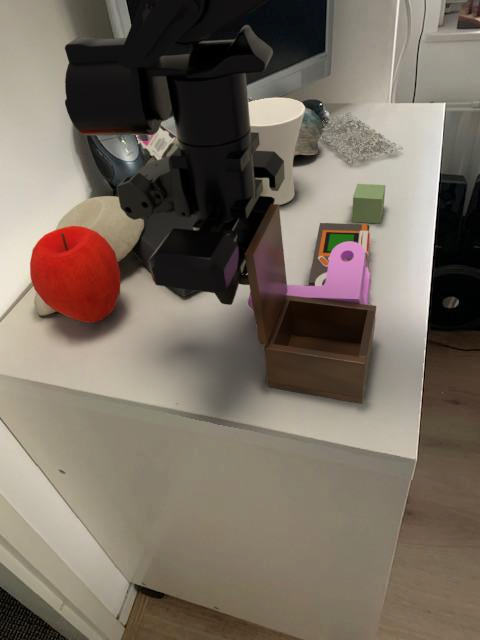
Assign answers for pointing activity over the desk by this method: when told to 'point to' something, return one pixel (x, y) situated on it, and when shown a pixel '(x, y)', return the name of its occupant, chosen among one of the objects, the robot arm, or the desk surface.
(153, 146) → the candy bar box
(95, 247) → the apple
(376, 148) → the rug
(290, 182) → the cup
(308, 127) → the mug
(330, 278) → the bracket
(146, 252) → the hard drive
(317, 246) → the electronic device
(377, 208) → the block
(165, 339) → the desk surface
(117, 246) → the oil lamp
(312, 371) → the chest
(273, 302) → the lid
